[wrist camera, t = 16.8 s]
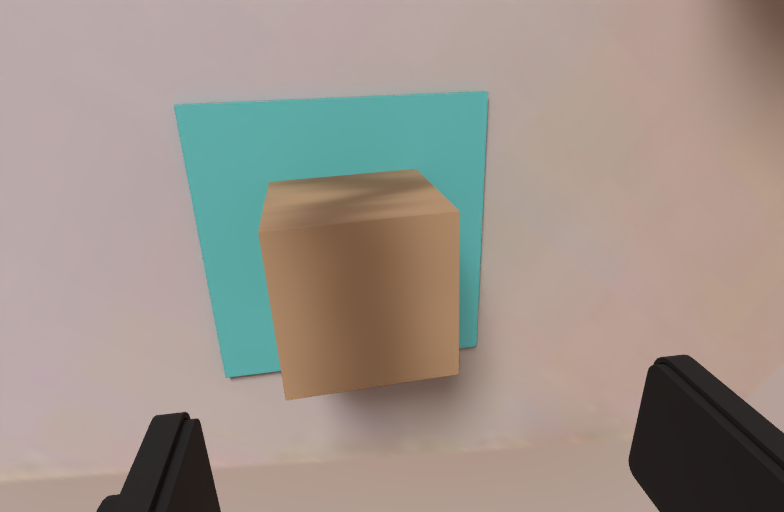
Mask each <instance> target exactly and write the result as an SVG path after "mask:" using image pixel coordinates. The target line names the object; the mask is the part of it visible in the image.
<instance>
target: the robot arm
mask: <svg viewBox="0 0 784 512" xmlns="http://www.w3.org/2000/svg"><path fill="white" fill-rule="evenodd" d="M629 467H630V470H631V472H632V474H633V476H634V478H635V479H636V480H637V482H638V483H639V484H640V486H641V487H642V488H643V490H644V491H645V493H646V494H647V495H648V497H649V498H650V499H651V500H652V502H653V503H654V505H655V506H656V507H657V509H658V510H659V511H660V512H784V433H783V432H782V431H780V430H779V429H778V428H776V427H775V426H774V425H773V424H772V423H771V422H769V421H768V420H767V419H766V418H765V417H763V416H762V415H761V414H760V413H758V412H757V411H756V410H755V409H754V408H752V407H751V406H750V405H749V404H748V403H746V402H745V401H744V400H743V399H741V398H740V397H739V396H738V395H737V394H735V393H734V392H733V391H732V390H731V389H729V388H728V387H727V386H726V385H725V384H723V383H722V382H721V381H720V380H718V379H717V378H716V377H715V376H714V375H712V374H711V373H710V372H709V371H708V370H706V369H705V368H704V367H703V366H701V365H700V364H699V363H698V362H697V361H695V360H694V359H693V358H691V357H690V356H688V355H676V356H668V357H660V358H657V360H656V361H655V362H654V365H652V366H650V368H649V369H648V373H647V377H646V382H645V386H644V391H643V395H642V400H641V404H640V409H639V414H638V418H637V423H636V427H635V432H634V436H633V441H632V446H631V450H630V455H629ZM97 512H221V511H220V506H219V502H218V497H217V494H216V489H215V485H214V480H213V476H212V471H211V467H210V463H209V458H208V454H207V449H206V445H205V441H204V436H203V432H202V428H201V424H200V421H199V419H190V416H189V414H188V413H187V412H182V413H173V414H164V415H156V416H155V417H153V419H152V421H151V423H150V425H149V428H148V430H147V432H146V435H145V437H144V439H143V442H142V444H141V446H140V449H139V451H138V453H137V456H136V458H135V460H134V462H133V465H132V467H131V469H130V472H129V474H128V476H127V479H126V481H125V483H124V486H123V488H122V490H121V493H120V494H118V495H111V496H108V497H106V498H105V499H104V500H103V501H102V503H101V505H100V506H99V508H98V509H97Z"/></svg>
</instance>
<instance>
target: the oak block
mask: <svg viewBox="0 0 784 512" xmlns="http://www.w3.org/2000/svg"><path fill="white" fill-rule="evenodd" d="M258 234H259V240H260V246H261V253H262V259H263V265H264V271H265V277H266V283H267V289H268V295H269V301H270V307H271V313H272V319H273V326H274V332H275V338H276V344H277V350H278V356H279V362H280V368H281V374H282V380H283V386H284V393H285V399H286V400H293V399H299V398H306V397H312V396H319V395H325V394H332V393H339V392H345V391H352V390H358V389H365V388H371V387H378V386H384V385H391V384H398V383H404V382H411V381H417V380H424V379H430V378H437V377H444V376H450V375H457V374H459V244H460V211H459V210H458V209H457V208H456V207H455V206H454V205H453V204H452V203H451V202H450V201H449V200H448V199H447V198H446V197H445V196H443V195H442V194H441V193H440V192H439V191H438V190H437V189H436V188H435V187H434V186H433V185H432V184H431V183H430V182H429V181H428V180H427V179H426V178H425V177H424V176H423V175H422V174H421V173H420V172H419V171H418V170H417V169H409V170H398V171H386V172H375V173H364V174H353V175H342V176H330V177H319V178H308V179H297V180H286V181H274V182H269V184H268V188H267V193H266V198H265V202H264V207H263V212H262V216H261V221H260V226H259V230H258Z"/></svg>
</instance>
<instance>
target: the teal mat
mask: <svg viewBox="0 0 784 512" xmlns="http://www.w3.org/2000/svg"><path fill="white" fill-rule="evenodd" d="M487 106H488V92H487V91H481V92H458V93H435V94H412V95H389V96H366V97H343V98H320V99H297V100H274V101H252V102H229V103H206V104H183V105H174V109H175V114H176V120H177V125H178V130H179V135H180V141H181V146H182V151H183V156H184V162H185V167H186V172H187V177H188V183H189V188H190V193H191V198H192V204H193V209H194V214H195V219H196V225H197V230H198V235H199V240H200V246H201V251H202V256H203V261H204V267H205V272H206V277H207V282H208V288H209V293H210V298H211V303H212V309H213V314H214V319H215V324H216V329H217V335H218V340H219V345H220V350H221V356H222V361H223V366H224V371H225V377H226V378H228V377H236V376H244V375H252V374H260V373H268V372H276V371H281V368H280V362H279V356H278V350H277V344H276V338H275V332H274V326H273V319H272V313H271V307H270V301H269V295H268V289H267V283H266V277H265V271H264V265H263V259H262V253H261V246H260V240H259V234H258V230H259V226H260V221H261V216H262V212H263V207H264V202H265V198H266V193H267V188H268V184H269V182H274V181H286V180H297V179H308V178H319V177H330V176H342V175H353V174H364V173H375V172H386V171H398V170H409V169H417V170H418V171H419V172H420V173H421V174H422V175H423V176H424V177H425V178H426V179H427V180H428V181H429V182H430V183H431V184H432V185H433V186H434V187H435V188H436V189H437V190H438V191H439V192H440V193H441V194H442V195H443V196H445V197H446V198H447V199H448V200H449V201H450V202H451V203H452V204H453V205H454V206H455V207H456V208H457V209H458V210H459V211H460V244H459V348H467V347H474V346H476V344H477V323H478V301H479V279H480V258H481V236H482V214H483V193H484V171H485V149H486V128H487Z"/></svg>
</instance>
